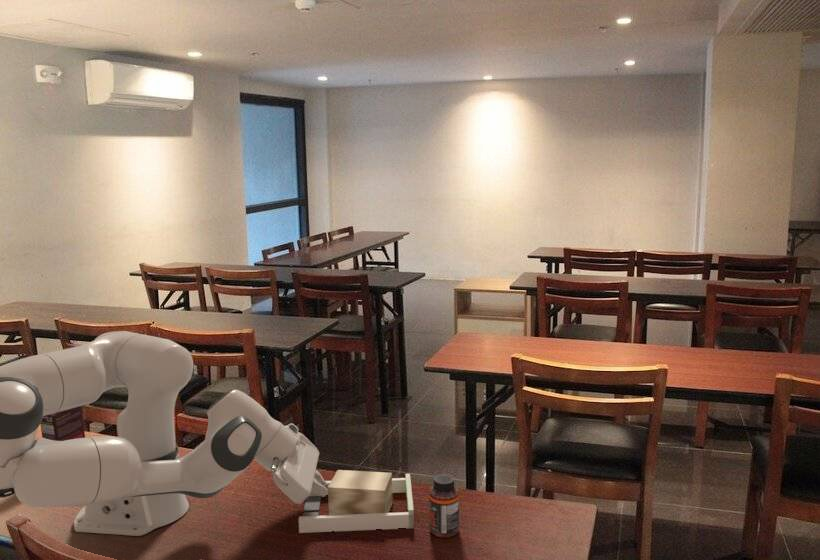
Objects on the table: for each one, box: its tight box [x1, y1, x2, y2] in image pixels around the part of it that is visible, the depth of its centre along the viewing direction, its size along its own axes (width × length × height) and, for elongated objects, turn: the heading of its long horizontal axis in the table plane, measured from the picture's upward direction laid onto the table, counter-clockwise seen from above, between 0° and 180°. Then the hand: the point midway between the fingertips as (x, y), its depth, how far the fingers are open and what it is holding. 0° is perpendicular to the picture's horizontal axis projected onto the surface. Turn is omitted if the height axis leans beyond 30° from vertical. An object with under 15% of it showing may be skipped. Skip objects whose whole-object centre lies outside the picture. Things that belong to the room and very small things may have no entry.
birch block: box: [327, 469, 394, 515], centre depth 145 cm, size 12×8×7 cm, turn 81°
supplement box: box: [40, 406, 86, 441], centre depth 167 cm, size 9×5×16 cm, turn 159°
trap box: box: [298, 473, 415, 534], centre depth 146 cm, size 23×16×4 cm
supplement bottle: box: [428, 473, 460, 539], centre depth 136 cm, size 6×6×11 cm
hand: (326, 491), depth 144 cm, fingers closed
